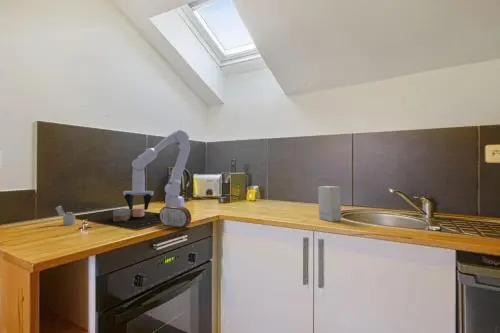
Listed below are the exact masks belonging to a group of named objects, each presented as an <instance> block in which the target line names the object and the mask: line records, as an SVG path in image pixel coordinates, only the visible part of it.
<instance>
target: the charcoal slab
mask: <svg viewBox="0 0 500 333" xmlns="http://www.w3.org/2000/svg"><path fill="white" fill-rule="evenodd" d="M112 214H113V215H112V216H127V215H130V216H131V214H132V213H131V209H129V208H119V209H114V210H113V211H112Z"/></svg>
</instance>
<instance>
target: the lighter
mask: <svg viewBox="0 0 500 333" xmlns="http://www.w3.org/2000/svg"><path fill="white" fill-rule="evenodd" d="M55 210H56V211H57V215H59V217H62V220H63V222H62V223H63V226H69V225H70V226H75V225H76V214H75V213H73V212H72V211H66V213H65V212H64V210H63V208H62V205H59V206H56V207H55Z"/></svg>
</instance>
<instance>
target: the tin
mask: <svg viewBox="0 0 500 333" xmlns="http://www.w3.org/2000/svg"><path fill="white" fill-rule="evenodd" d="M159 220H160V222H161V224H163V225H164V226H166V227H172V228H179V229H180V228H185V227H188V226H189V225H190V224H191V221H192V214H191V212H190V210H189V209H188V208H187V207H185V206H184V207H179V206H166V207H165V206H164V207H162V208H161V209H160V210H159Z"/></svg>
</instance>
